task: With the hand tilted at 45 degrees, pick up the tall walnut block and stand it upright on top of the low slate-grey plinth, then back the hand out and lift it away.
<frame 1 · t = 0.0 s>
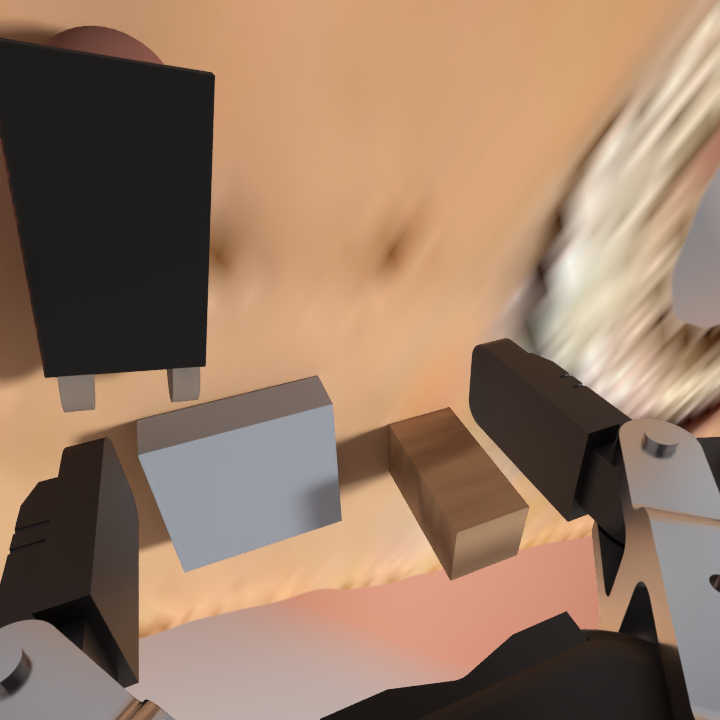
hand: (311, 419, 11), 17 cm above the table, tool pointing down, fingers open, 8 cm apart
walnut block: (418, 439, 40), on the table
figurine character: (123, 219, 24), on the table
slate plinth: (246, 459, 34), on the table
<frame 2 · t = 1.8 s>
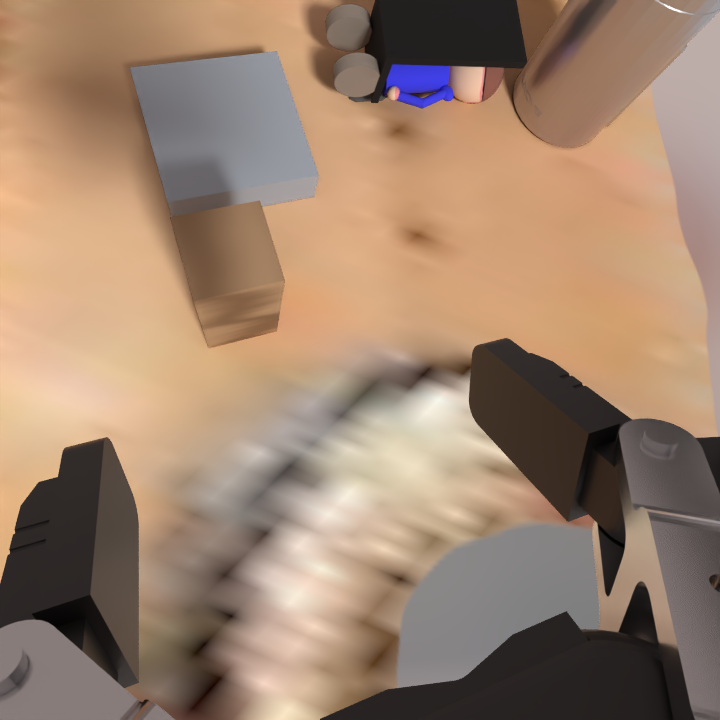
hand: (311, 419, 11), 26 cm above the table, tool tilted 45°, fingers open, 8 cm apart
walnut block: (234, 308, 38), on the table
figurine character: (408, 91, 46), on the table
slate plinth: (227, 147, 40), on the table
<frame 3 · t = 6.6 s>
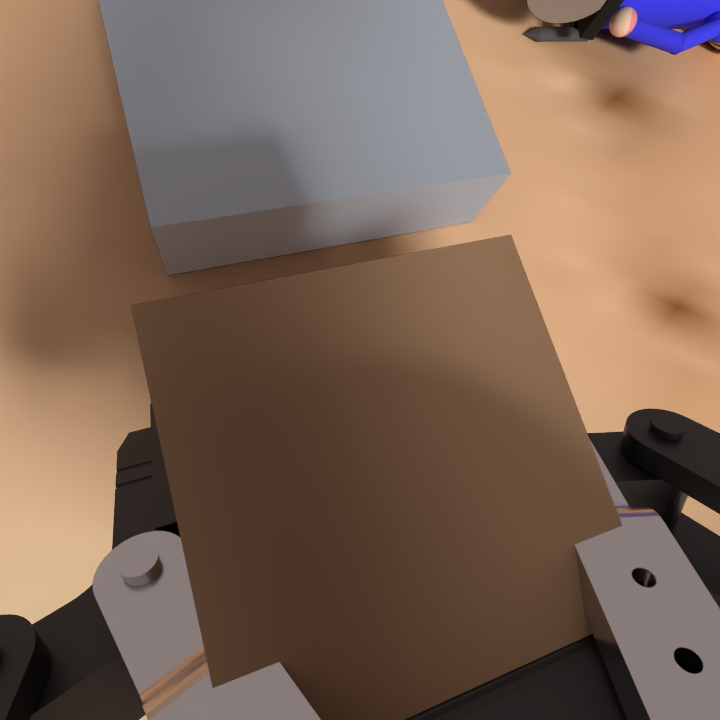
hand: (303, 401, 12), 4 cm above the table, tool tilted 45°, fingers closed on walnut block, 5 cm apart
walnut block: (305, 485, 15), on the table, touching gripper
figurine character: (622, 31, 24), on the table
slate plinth: (291, 112, 19), on the table
when the fingers open (9 cm above the table, at t = 11.7 s): walnut block drops 1 cm, resting on slate plinth.
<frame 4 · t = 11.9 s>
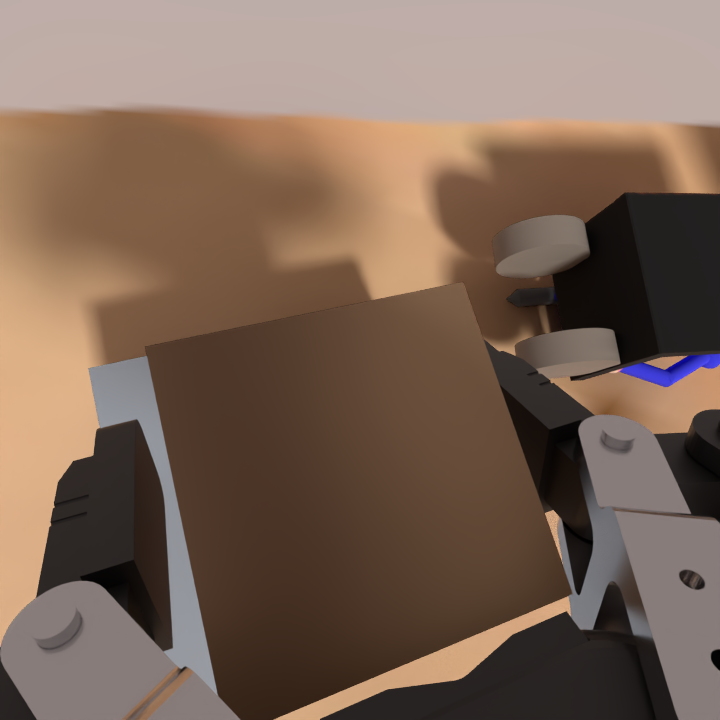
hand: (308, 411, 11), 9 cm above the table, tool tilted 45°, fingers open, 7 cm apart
walnut block: (297, 489, 17), point 3 cm above the table, touching slate plinth
figurine character: (613, 328, 25), on the table
slate plinth: (292, 489, 20), on the table
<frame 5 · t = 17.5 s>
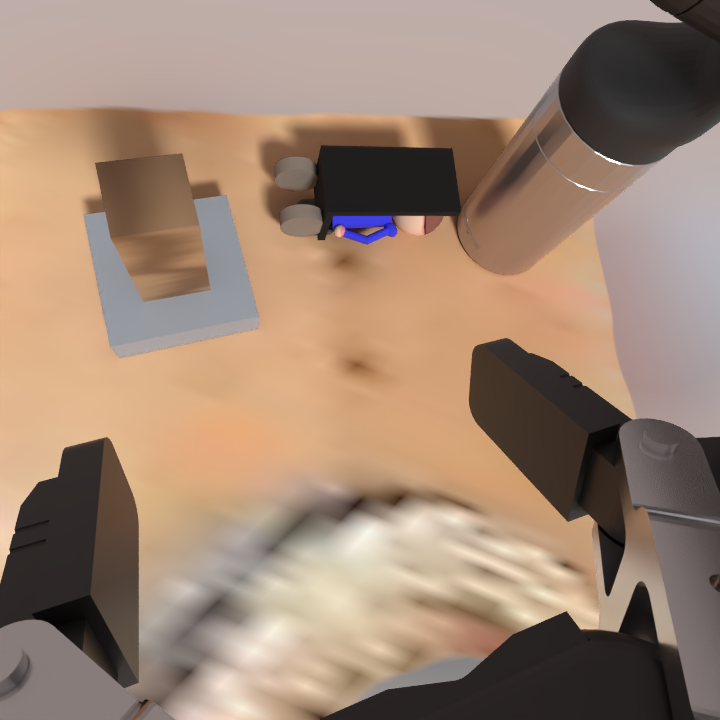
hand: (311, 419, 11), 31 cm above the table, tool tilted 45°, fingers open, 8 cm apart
walnut block: (171, 266, 40), point 3 cm above the table, touching slate plinth
figurine character: (356, 222, 48), on the table
slate plinth: (177, 281, 43), on the table
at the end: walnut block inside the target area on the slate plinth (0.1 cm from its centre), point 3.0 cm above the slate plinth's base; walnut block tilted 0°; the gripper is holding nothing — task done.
